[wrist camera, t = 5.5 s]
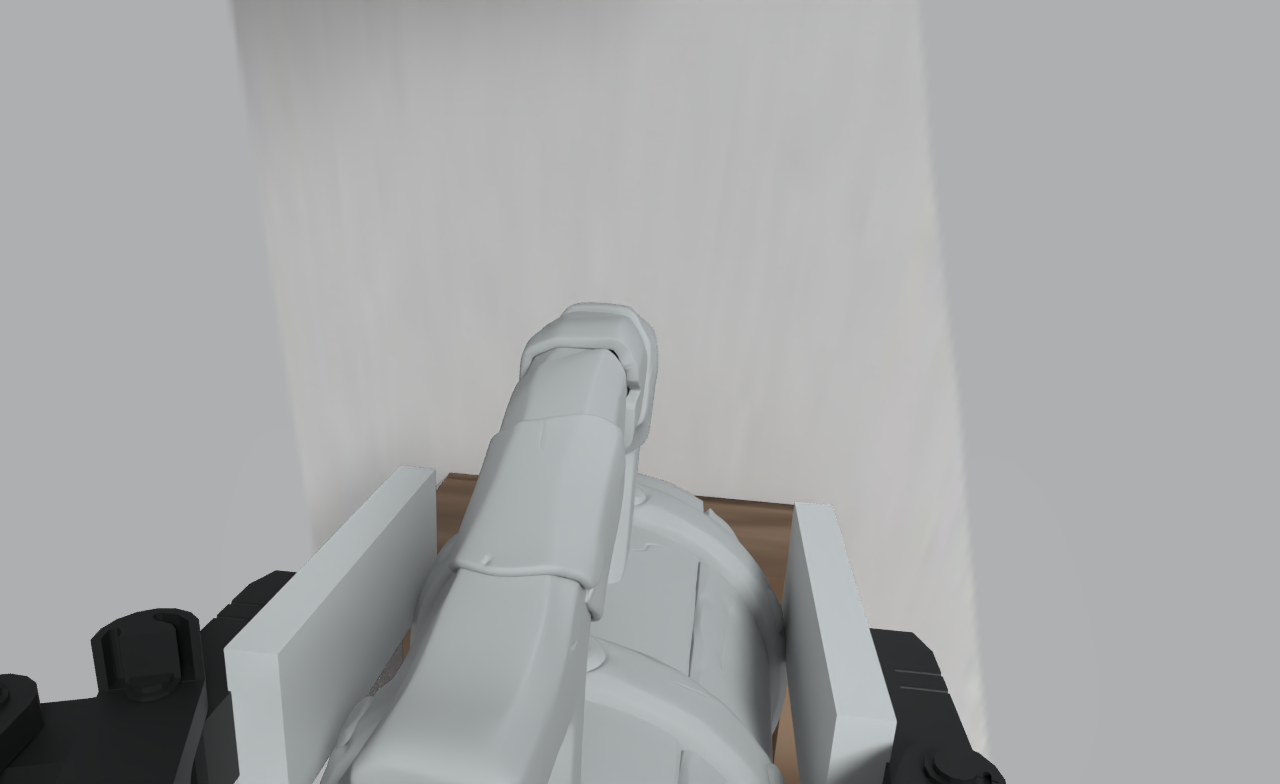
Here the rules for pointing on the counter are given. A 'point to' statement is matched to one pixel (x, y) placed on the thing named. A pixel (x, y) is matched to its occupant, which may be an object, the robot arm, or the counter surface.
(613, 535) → the mug
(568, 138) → the counter surface
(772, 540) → the wooden box
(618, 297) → the counter surface
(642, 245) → the counter surface
